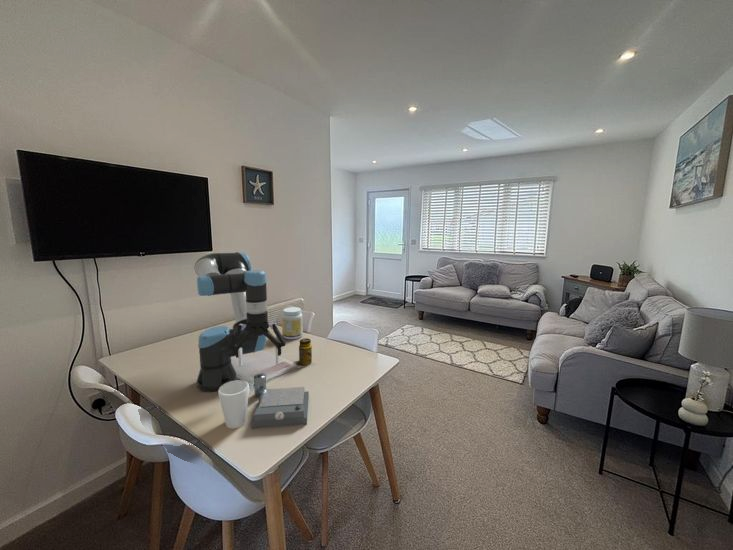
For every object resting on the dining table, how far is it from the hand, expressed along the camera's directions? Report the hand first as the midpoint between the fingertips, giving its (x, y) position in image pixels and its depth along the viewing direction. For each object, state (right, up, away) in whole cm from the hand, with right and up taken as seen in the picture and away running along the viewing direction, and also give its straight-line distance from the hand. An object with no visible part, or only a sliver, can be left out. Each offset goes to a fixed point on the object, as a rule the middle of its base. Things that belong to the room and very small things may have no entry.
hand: (259, 364), depth 114 cm
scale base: (+11, -15, -8) cm, 20 cm away
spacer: (0, -13, +2) cm, 13 cm away
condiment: (+11, -9, +30) cm, 33 cm away
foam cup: (-3, -16, -14) cm, 21 cm away
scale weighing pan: (+11, -11, -6) cm, 17 cm away
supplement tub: (-3, -3, +64) cm, 64 cm away
